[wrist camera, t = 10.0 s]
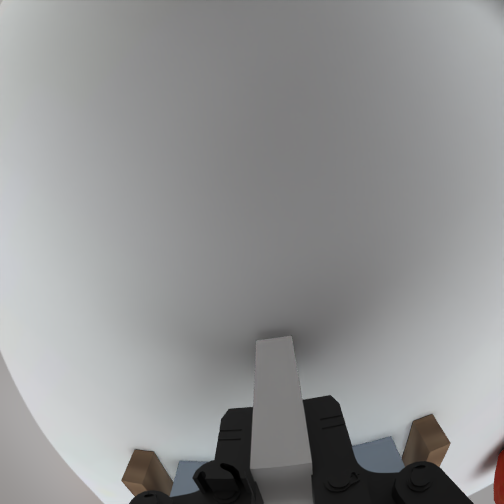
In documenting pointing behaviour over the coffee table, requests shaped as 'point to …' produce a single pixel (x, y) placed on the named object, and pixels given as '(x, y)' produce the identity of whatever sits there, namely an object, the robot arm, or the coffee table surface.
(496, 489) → the apple
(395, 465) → the t block
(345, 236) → the coffee table surface
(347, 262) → the coffee table surface
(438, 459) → the walnut fence
